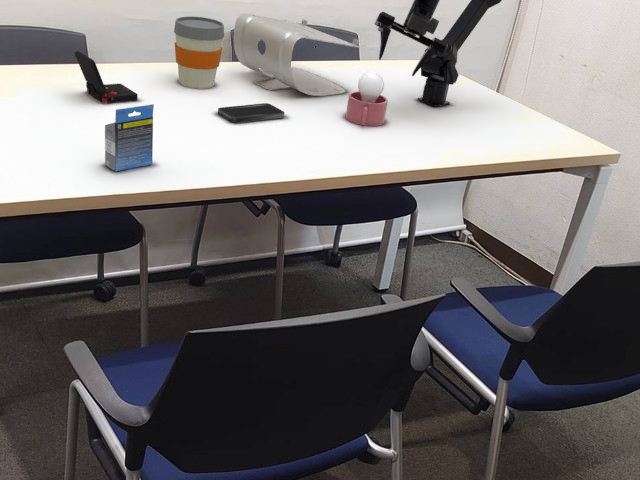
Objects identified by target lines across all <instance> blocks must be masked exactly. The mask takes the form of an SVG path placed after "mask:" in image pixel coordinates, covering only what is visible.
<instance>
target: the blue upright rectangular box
mask: <svg viewBox="0 0 640 480" xmlns="http://www.w3.org/2000/svg"><path fill="white" fill-rule="evenodd" d="M154 105H155V104H154V103H152V104H146V105H138V106H132V107H126V108H125V107H124V108H116V109H115V119H114V120H115V121H114V122H112V123H107V124H105V125H104V165H105V167H106V168H108V169H109V170H112V171H113V172H116V173H117V172H121V171H126V170H130V169H135V168H140V167H144V166H151V165H153V155H154V153H153V149H154V148H153V145H154V143H153V142H154V107H155V106H154ZM134 112H135V113H139V114H137V115H130V116H129V114H133V113H134Z"/></svg>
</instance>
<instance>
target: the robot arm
mask: <svg viewBox="0 0 640 480" xmlns="http://www.w3.org/2000/svg"><path fill="white" fill-rule="evenodd" d="M440 1H441V0H413V2H412V4H411V6H410V8H409V11H408V13H407V15H406V17H405V20H404V22H403V23H402V24H400V23H398V22H397V21H395V20H396V17H395V16H393V15H391V14H389V13H387V12H385V11H380V12H379V14H378V15H377V17H376V19H375V21H374V25H375V26H376V27H377V31H378V32H379V33H380V47H379V53H378V54H379V55H378V60H379V61H381V60H382V57H383V55H384V53H385V51H386V50H385V49H386V46H387V43H388V40H389V37H390V35H391V32H392V30H393V31H395V32H397V33H399V34H400V35H403V36H405V37H407V38H409V39H411V40H413V41H415V42H417V43H419V44H421V45H423V46H425V47H427V48H425V49H424V51H423V54H422V56H421V57H420V59H419V61H418V63H417V64H416V66H415V67H414V69H413V72H412V74H411V77H414V76H415V75H416V74H417V73H418V71H419V70H420V77H423V78H426V79H425V84H424V86H423V92H422V95H421V97H417V101H419V102H421V103H424V104H426V105H429V106H432V107H435V108H436V107H442V106H448V105H450V104H451V103H450V101H448V100H447V97H448V92H449V87H450V85H454V84H456V83H457V80H458V79H459V75H460V74H459V72H458V69H457V67H456V65H457V63H458V52H459V50H460V49H461V47H462V46H463V45H464V43H465V42H466V41H467V39H468V37H470V35H471V34H472V32H473V31H474V30H475V28H476V26H477V25H478V24H479V22H480V21H481V20H482V18H483V17H484V15H485V14H486V13H487V12H488V10H489V9H490V8H492V7H494V6H496V5H499V4H500V3H501V2H502V1H503V0H470V1H469V3H468V4H467V5H466V7H465V8H464V9H463V11H462V12H461V13H460V15H459V16H458V18H457V19H456V21H455V22H454V24H452V26H451V27H450V29H449V30H448V31H447V33H446V35H445V36H444V37H443V38H442V39H440V38H438V37H436V36H435V37H433V38H432V39H431V38H429V37H427V36H426V35H427V33H429V34H431V35H434V34H435V32H436V30H437V28H438V26H439V24H440V20H438V19H437V18H435V17H433V16H434V14H435V12H436V9H437V7H438V5H439V3H440Z"/></svg>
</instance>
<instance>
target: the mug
mask: <svg viewBox="0 0 640 480" xmlns="http://www.w3.org/2000/svg"><path fill="white" fill-rule="evenodd" d="M388 103H389V99H388V98H387V97H386V96H384V95H382V94H381V95H380V96H379V97H378V98H377V99H376V102H375V103H368V102H363V101H362V97H361V94H360V92H359V90H358V91H357V90H356V91H352V92H350V93H349V94H348V97H347V105H346V110H345V119H346V120H347V121H348V122H351V123H353V124H356V125H360V126H365V127H366V126H368V127H378V126H382V125H383V124H384V123H385V120H386V115H387V109H388Z"/></svg>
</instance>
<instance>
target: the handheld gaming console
mask: <svg viewBox="0 0 640 480" xmlns="http://www.w3.org/2000/svg"><path fill="white" fill-rule="evenodd" d="M74 56H75V59H76V61H77V63H78V66H79V68H80V71H81V73H82V75H83V77H84V81H85V83H86V84H85V85H86V92H87V93H88V95H90V96H91V97H92V98H94V99H96V100H97V101H99V102H100V103H103V104H116V103H117V104H118V103H127V102H128V103H129V102H137V101H138V93H137V92H135V91H134V90H132V89H130V88H129V87H127V86H125V85H124V84H122V83H108V84H104V81H103V78H102V76H101V74H100V72H99V71H100V70H99V69H98V65H97V64H96V62H95V60H94V59H93V58H91V57H89V56H88V55H86V54H84V53H82V52H81V51H79V50H76V51H74Z"/></svg>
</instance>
